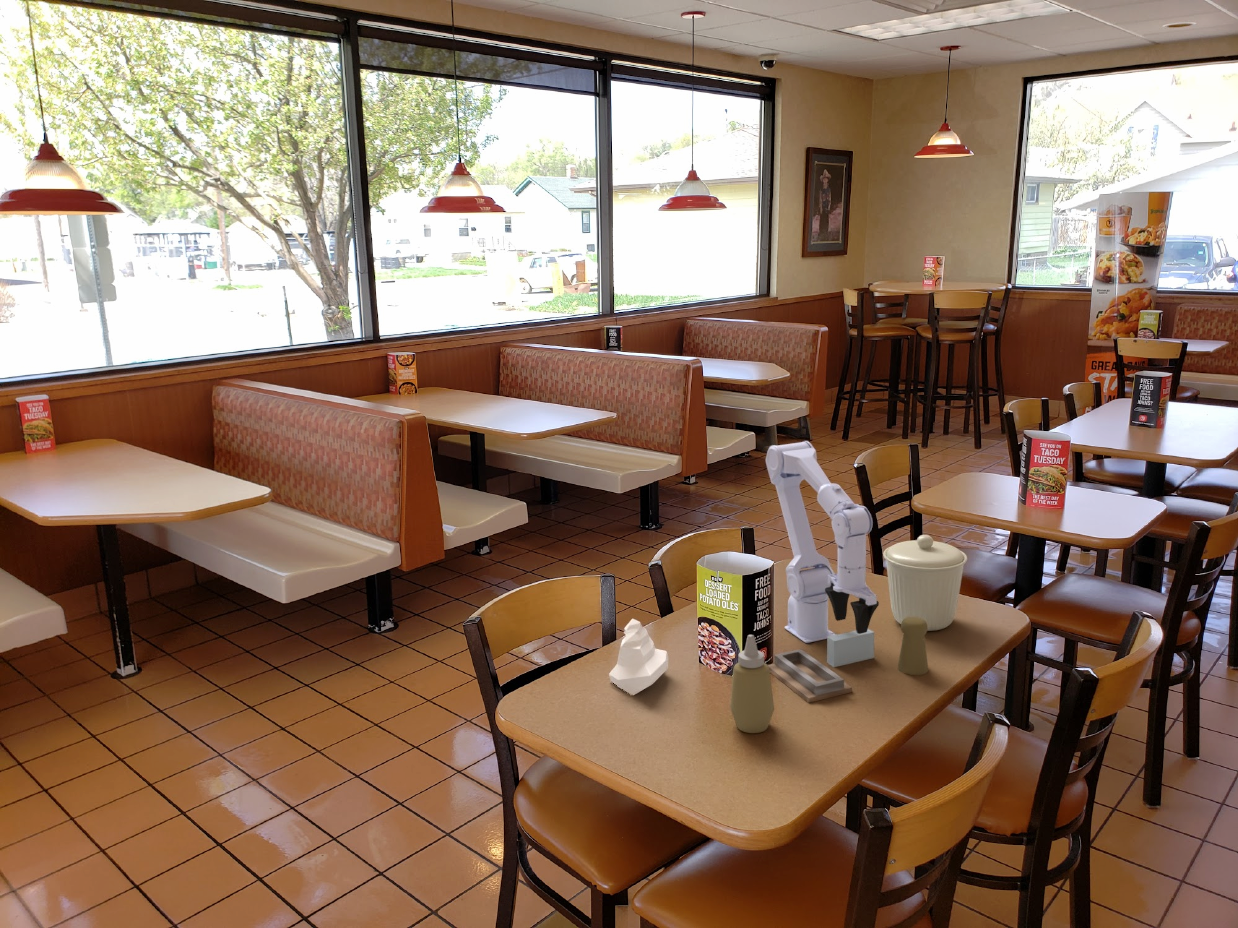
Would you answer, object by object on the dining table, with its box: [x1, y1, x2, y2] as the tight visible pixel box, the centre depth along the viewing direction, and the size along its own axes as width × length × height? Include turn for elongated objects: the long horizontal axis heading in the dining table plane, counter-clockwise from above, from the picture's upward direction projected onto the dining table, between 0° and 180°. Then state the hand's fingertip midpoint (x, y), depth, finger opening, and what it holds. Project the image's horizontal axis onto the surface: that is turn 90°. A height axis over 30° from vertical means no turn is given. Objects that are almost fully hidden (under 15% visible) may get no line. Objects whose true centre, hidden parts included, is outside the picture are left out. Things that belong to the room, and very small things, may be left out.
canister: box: [882, 534, 968, 632], centre depth 209 cm, size 18×18×21 cm
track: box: [767, 648, 853, 703], centre depth 186 cm, size 16×10×3 cm, turn 21°
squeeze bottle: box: [729, 634, 775, 734], centre depth 167 cm, size 8×8×18 cm
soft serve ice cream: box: [608, 618, 670, 696], centre depth 188 cm, size 12×15×14 cm
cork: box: [897, 617, 929, 676], centre depth 188 cm, size 6×6×11 cm
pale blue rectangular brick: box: [826, 628, 875, 668], centre depth 193 cm, size 10×2×6 cm, turn 111°
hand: (851, 625), depth 192 cm, fingers open, 7 cm apart
